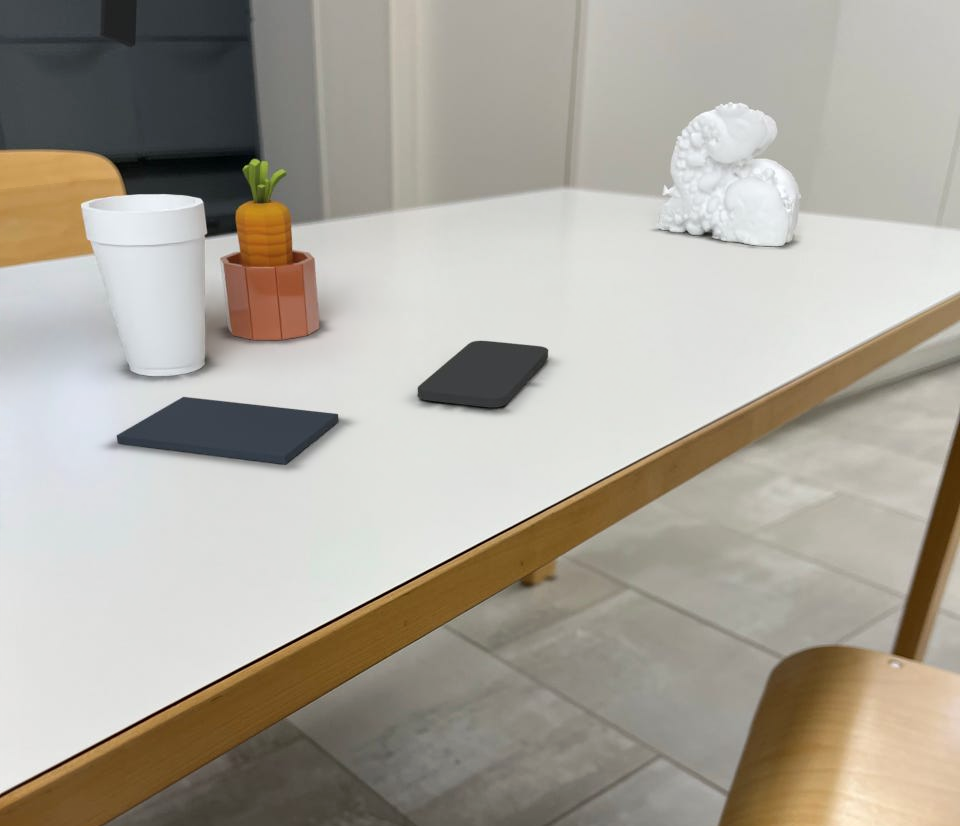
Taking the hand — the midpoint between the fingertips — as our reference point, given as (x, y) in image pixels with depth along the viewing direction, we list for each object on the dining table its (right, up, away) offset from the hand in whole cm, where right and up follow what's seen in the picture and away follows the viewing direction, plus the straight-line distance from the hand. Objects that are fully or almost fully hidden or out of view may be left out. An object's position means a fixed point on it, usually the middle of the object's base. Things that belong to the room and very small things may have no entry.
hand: (155, 15), depth 81 cm
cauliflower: (+60, +7, +62) cm, 87 cm away
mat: (+8, -34, -7) cm, 36 cm away
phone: (+26, -28, +5) cm, 38 cm away
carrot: (+6, -19, +18) cm, 27 cm away
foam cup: (-1, -26, +7) cm, 27 cm away
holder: (+6, -19, +18) cm, 27 cm away
